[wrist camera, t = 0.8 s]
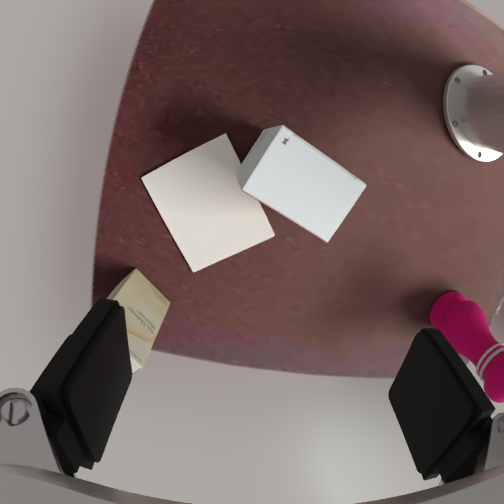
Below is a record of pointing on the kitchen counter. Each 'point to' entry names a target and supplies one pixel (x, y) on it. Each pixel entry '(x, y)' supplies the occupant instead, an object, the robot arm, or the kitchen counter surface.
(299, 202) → the small box
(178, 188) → the mat
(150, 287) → the skincare box
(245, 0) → the kitchen counter surface
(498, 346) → the pepper mill
